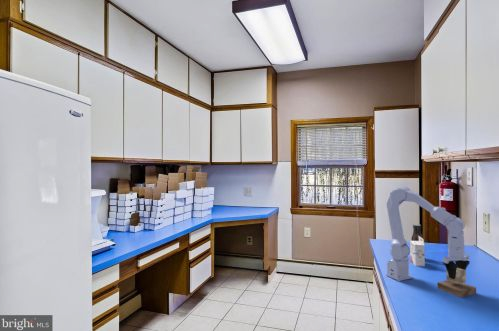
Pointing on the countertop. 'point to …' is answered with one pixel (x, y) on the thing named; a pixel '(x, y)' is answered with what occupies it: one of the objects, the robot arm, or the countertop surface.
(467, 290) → the walnut block
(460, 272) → the maple cube
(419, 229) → the sauce bottle
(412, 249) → the ink cartridge box
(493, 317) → the countertop surface
